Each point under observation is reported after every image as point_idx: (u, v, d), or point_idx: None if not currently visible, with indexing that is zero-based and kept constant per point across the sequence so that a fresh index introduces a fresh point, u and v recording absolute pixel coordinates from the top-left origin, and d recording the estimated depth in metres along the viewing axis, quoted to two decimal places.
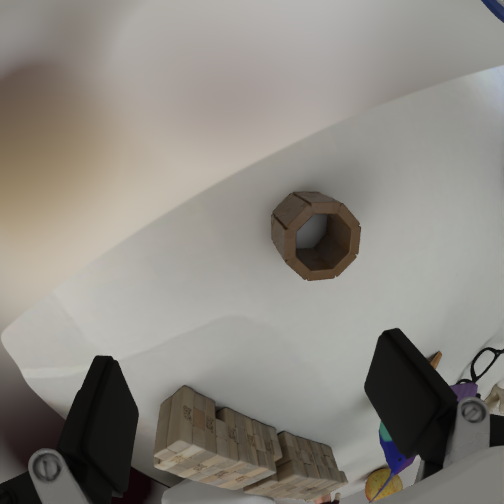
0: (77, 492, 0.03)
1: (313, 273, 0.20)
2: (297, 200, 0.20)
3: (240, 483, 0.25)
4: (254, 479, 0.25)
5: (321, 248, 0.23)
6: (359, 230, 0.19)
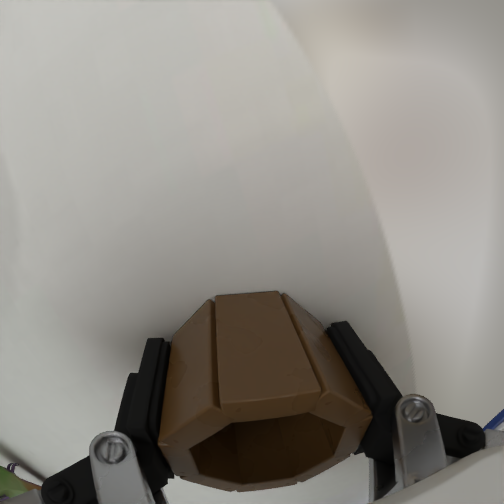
0: (138, 481, 0.04)
1: (181, 453, 0.06)
2: (341, 361, 0.08)
3: None
4: None
5: None
6: (289, 484, 0.07)
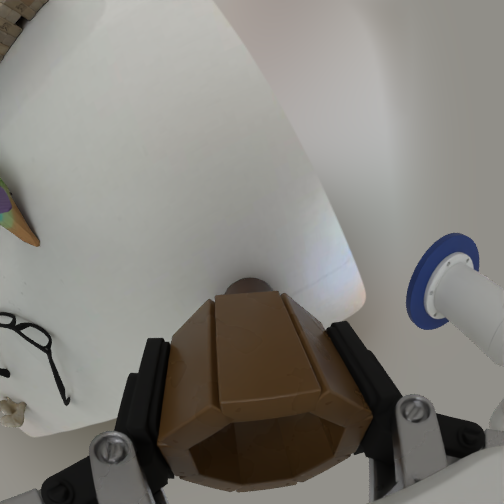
0: (138, 481, 0.04)
1: (180, 453, 0.06)
2: (341, 361, 0.08)
3: None
4: None
5: None
6: (289, 485, 0.07)
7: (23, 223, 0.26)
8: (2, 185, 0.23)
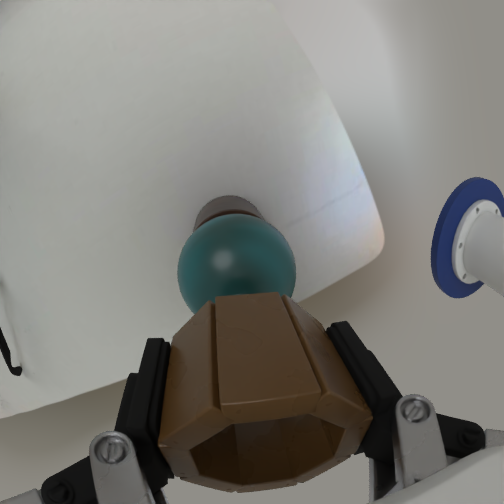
0: (138, 481, 0.04)
1: (181, 454, 0.06)
2: (342, 362, 0.08)
3: None
4: None
5: None
6: (289, 485, 0.07)
7: None
8: None
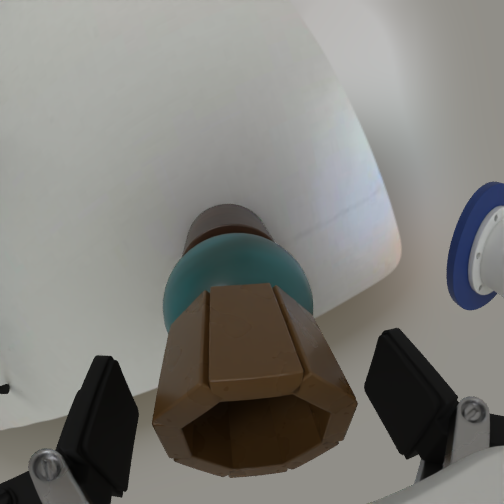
0: (77, 492, 0.03)
1: (174, 433, 0.06)
2: (329, 350, 0.08)
3: None
4: None
5: None
6: (279, 471, 0.08)
7: None
8: None
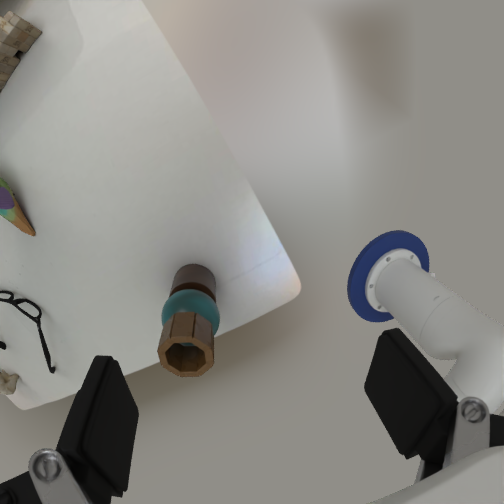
0: (77, 492, 0.03)
1: (163, 353, 0.26)
2: (209, 334, 0.29)
3: None
4: None
5: (174, 346, 0.30)
6: (196, 375, 0.28)
7: (23, 217, 0.33)
8: (7, 188, 0.30)
